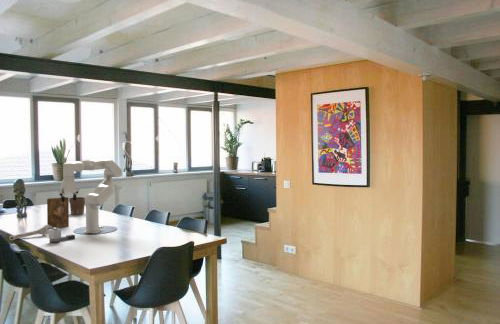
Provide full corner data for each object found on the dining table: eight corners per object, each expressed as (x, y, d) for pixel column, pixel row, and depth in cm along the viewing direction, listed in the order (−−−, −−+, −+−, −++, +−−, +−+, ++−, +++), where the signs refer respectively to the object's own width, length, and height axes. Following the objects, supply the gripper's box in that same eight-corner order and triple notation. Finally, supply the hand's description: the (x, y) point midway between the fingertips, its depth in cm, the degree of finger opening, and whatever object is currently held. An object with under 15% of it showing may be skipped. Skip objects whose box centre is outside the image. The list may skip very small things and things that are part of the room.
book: (67, 225, 367) (67, 197, 366) (69, 226, 363) (69, 197, 362) (47, 227, 357) (47, 198, 355) (49, 228, 352) (48, 199, 351)
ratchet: (70, 237, 320) (70, 228, 320) (76, 238, 317) (76, 229, 316) (47, 242, 305) (47, 232, 305) (53, 243, 301) (53, 233, 301)
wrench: (9, 243, 313) (52, 233, 332) (10, 244, 311) (53, 234, 330) (8, 233, 312) (50, 223, 331) (8, 233, 310) (51, 224, 329)
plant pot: (83, 212, 437) (82, 196, 436) (88, 214, 424) (88, 198, 424) (66, 213, 426) (66, 197, 426) (71, 215, 414) (71, 199, 413)
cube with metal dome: (56, 236, 310) (56, 226, 310) (61, 237, 307) (61, 227, 306) (48, 238, 305) (48, 228, 305) (53, 239, 302) (53, 229, 301)
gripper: (75, 177, 328) (76, 199, 329) (55, 179, 314) (55, 201, 315) (81, 178, 324) (81, 200, 325) (61, 179, 310) (61, 202, 311)
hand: (68, 200), depth 320 cm, fingers open, 9 cm apart
